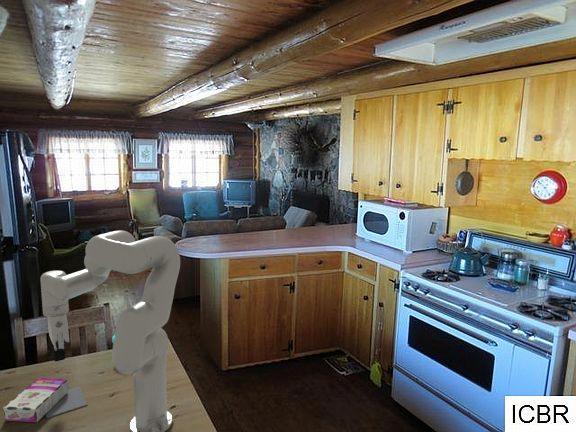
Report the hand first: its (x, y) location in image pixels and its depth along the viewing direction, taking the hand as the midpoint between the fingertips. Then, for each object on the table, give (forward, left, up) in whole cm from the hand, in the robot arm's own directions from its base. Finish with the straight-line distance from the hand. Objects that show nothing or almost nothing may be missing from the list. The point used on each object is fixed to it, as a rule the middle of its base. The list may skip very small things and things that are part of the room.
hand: (59, 359), depth 141 cm
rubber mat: (-3, 0, -14) cm, 14 cm away
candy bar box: (+5, +2, -11) cm, 12 cm away
